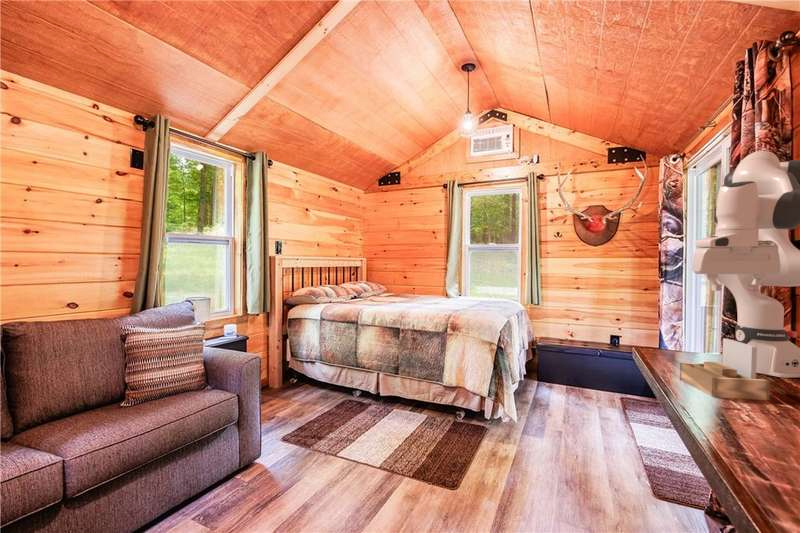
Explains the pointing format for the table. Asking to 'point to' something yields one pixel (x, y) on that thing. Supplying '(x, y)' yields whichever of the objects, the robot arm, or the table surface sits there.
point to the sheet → (740, 357)
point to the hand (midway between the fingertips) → (734, 290)
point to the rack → (724, 383)
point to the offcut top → (721, 369)
